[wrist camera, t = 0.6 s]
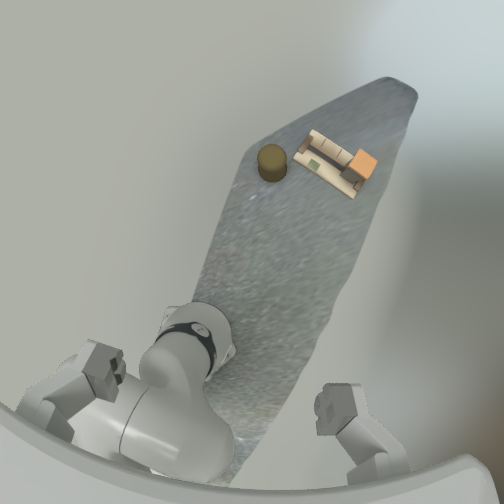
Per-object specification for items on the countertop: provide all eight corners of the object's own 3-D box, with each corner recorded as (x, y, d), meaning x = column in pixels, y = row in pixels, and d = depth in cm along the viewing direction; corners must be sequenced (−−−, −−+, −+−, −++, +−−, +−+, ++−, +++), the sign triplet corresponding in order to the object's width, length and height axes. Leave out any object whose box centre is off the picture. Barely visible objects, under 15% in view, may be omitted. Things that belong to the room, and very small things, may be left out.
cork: (253, 174, 57) (247, 163, 46) (266, 150, 56) (264, 134, 45) (278, 187, 57) (279, 179, 46) (291, 163, 56) (295, 149, 45)
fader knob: (352, 186, 54) (367, 179, 44) (336, 175, 54) (349, 165, 44) (361, 171, 53) (377, 161, 43) (346, 160, 53) (359, 148, 43)
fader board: (351, 199, 55) (354, 198, 53) (292, 159, 56) (293, 157, 54) (369, 169, 54) (372, 167, 52) (311, 130, 55) (313, 127, 53)
